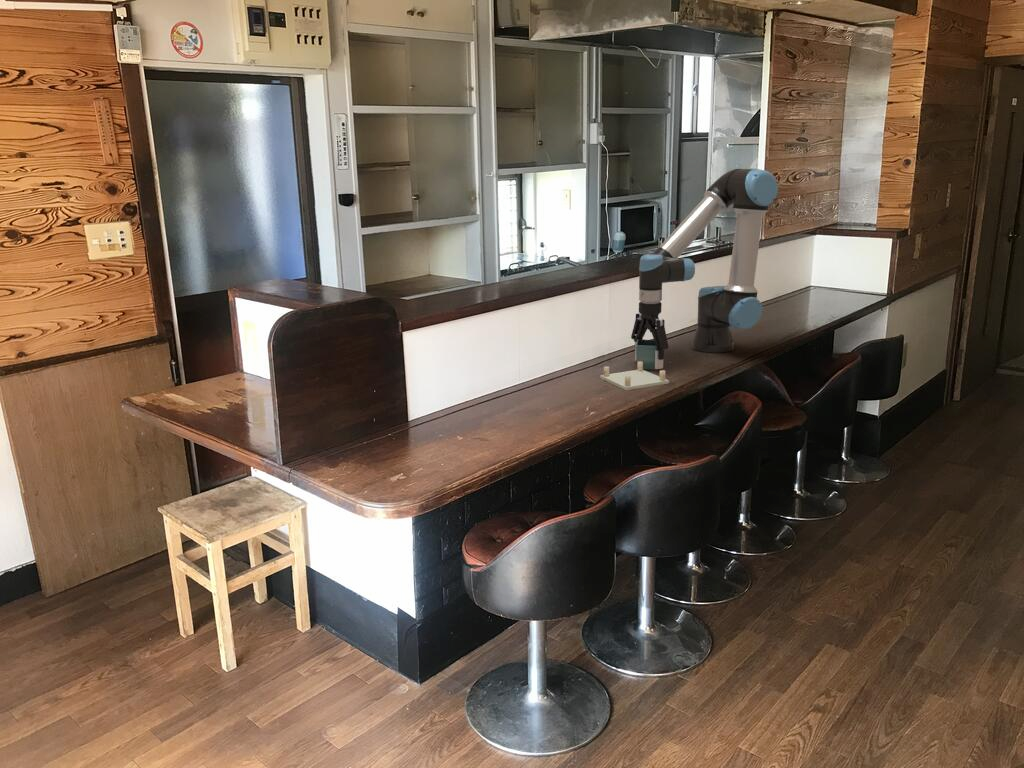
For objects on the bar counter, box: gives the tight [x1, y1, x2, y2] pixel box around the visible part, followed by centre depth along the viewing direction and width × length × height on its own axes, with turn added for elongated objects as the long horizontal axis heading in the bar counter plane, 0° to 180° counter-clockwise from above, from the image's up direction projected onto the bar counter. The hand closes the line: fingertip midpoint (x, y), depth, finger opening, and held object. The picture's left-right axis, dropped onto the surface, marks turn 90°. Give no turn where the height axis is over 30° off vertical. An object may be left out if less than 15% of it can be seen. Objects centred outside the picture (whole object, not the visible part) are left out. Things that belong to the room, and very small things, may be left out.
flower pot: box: [636, 339, 657, 371], centre depth 285 cm, size 9×9×9 cm
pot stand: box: [599, 361, 670, 391], centre depth 271 cm, size 16×16×4 cm
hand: (648, 364), depth 286 cm, fingers closed on flower pot, 12 cm apart
